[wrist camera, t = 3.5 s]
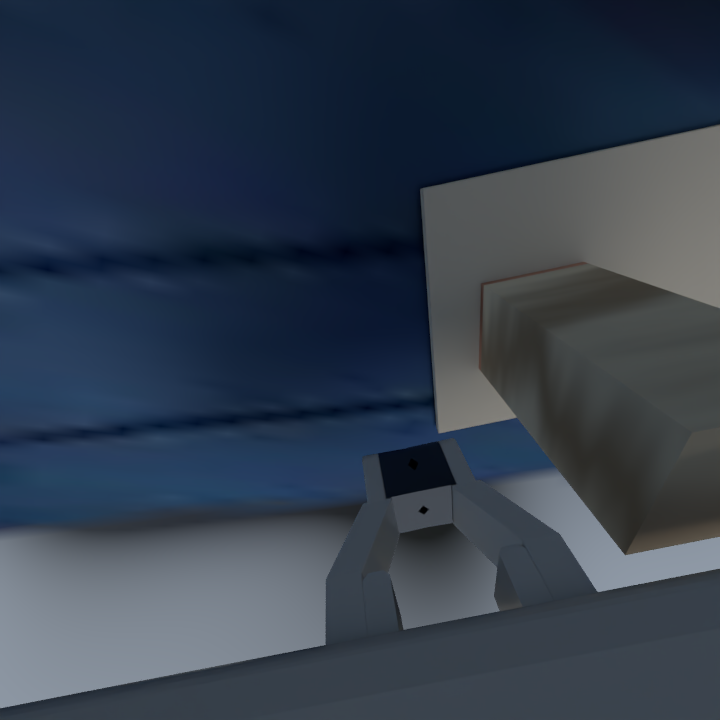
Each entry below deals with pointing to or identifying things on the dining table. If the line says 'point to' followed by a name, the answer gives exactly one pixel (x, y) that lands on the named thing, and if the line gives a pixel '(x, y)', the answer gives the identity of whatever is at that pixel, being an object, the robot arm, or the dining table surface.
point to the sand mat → (564, 242)
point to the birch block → (614, 395)
